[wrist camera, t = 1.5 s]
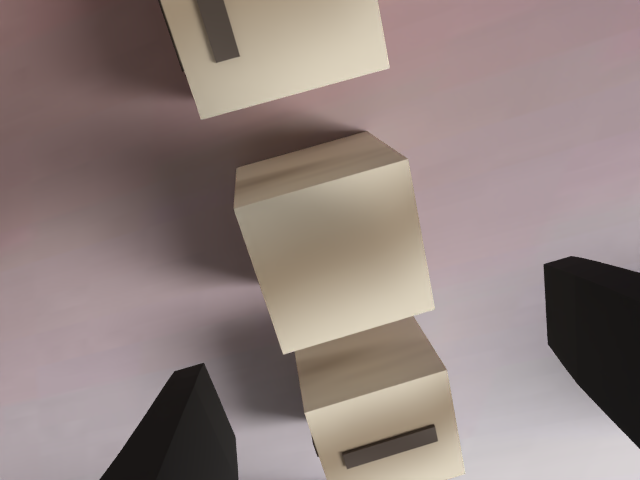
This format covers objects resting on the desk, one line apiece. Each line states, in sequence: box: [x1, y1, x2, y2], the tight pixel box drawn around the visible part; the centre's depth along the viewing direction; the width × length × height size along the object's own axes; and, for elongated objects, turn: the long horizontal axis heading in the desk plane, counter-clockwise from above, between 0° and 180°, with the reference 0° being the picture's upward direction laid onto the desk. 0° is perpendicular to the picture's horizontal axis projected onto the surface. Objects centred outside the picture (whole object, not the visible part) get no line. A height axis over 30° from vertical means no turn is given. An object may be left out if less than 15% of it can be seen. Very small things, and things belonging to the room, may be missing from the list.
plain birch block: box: [234, 131, 435, 355], centre depth 17 cm, size 5×5×5 cm
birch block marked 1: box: [294, 316, 465, 480], centre depth 19 cm, size 5×5×5 cm
